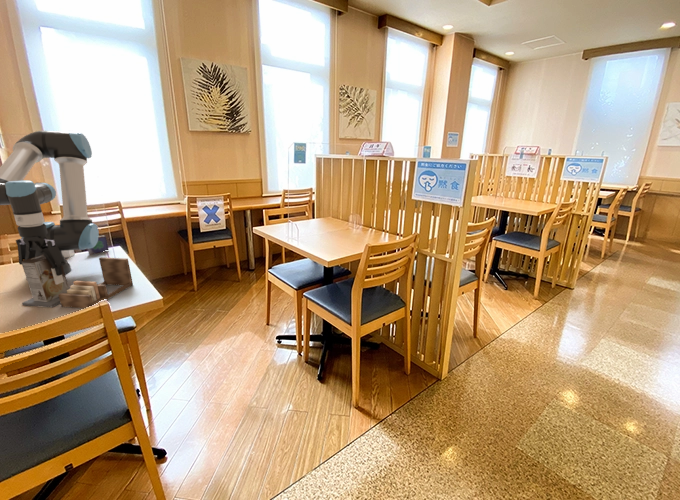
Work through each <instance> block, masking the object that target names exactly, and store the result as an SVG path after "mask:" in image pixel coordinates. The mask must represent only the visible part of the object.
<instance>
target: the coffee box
mask: <svg viewBox="0 0 680 500" xmlns="http://www.w3.org/2000/svg"><path fill="white" fill-rule="evenodd" d="M21 263H22V265H21V266H22V269H23V272H24V276H25V278H26V281H27V284H28V287H29V289H30V293H31V295H32V298H33V299H34V301H41V302H49V301H51V300H53V299H56V298H58V297H59V296H58V294H60V293H67V290H68V289H70V286H69V283H68V279H67V277H66V274H65V273H64V269H63V266H61V269H62V273H63V274H62V276H63V280H64V282H62V283H60V284H58V285H56V284H55V281H54V277H53V274H52V270H51V268H52V265H51V264H50V263H49V261H48V260H47V259H46V257H45V256H44V255H40V256H36V257H33V258H30V259H27V260H23V261H21ZM60 263H61V262H60ZM55 264H56V263H55Z"/></svg>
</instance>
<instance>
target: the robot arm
mask: <svg viewBox="0 0 680 500" xmlns="http://www.w3.org/2000/svg"><path fill="white" fill-rule="evenodd" d="M92 154H93V153H92V147H91V144H90V143H89V141H88V138H87V137H86V136H85V135H84V134H83V133H82V132H79V131H73V130H38V131H37V130H36V131H33V132H31V133H29V134H26V135H24V136H23V137H21V138H19V139H18V140H17V141H16V142H15V143H14V144H13V146H12V152H11V154H9V156H8V157H7V158H6V159H5V161H4V162H3V163H2V165H1V166H0V206H7V205H8V206H9V205H10V208H11V210H12V215H13V217H14V221H15V224H16V226H17V232H18V235H19V237H20V238H18V239H15V243H16V246H17V254H18V264H19V265H20V266H22V263H21V261H23V260H27V259H30V258H33V257H36V256H40V255H44V256H45V257H46V259H47V260H48V261H49V263H50V264H51V265H52V268H51V270H52V274H53V277H54V281H55V284H56V285H58V284H60V283H62V282H64V280H63V276H62V274H63V273H62V269H61V266H63V269H64V273H65V275H66V274H68V273H70V272H71V270H72V268H71V267H72V266H71V264H70V263H69V262H68V260H67V258H64V256H63V255H62V251H66V250H74V251H79V250H82V251H83V250H88V249H90V248H93V247H94V246H95V245H96V244H97V242H98V237H99V234H100V233H99V228H98V225H97V224H96V223H93V220H92V219H91V218H90V217H89V216H88V203H87V191H86V184H85V183H86V181H85V172H84V171H85V169H84V166H85V165H87V164H88V159H90V158H91V157H92V156H93V155H92ZM47 158H50V159H51V158H52V159H54V162H56V163H57V164H58V166H59V177H60V180H59V181H60V191H61V199H62V200H61V201H62V211H63V213H62V214H63V217H61V218H60V219H59V225H56V223H55V222H54V221H45V218H44V214H43V210H42V206H41V205H44V204H47V203H50V202H51V201H53V200H54V199H55V198H56V196H57V192H56V189H55V188H54V186H53V185H51V184H50V183H47V182H35V183H34V181H32V180H25V178H26V177H27V175H28V174H29V172H30V171H31V170H32V168H33V167H34V165H35V164H36V163H38V162H41V161H42V159H47ZM60 262H61V263H60ZM55 263H56V264H55Z"/></svg>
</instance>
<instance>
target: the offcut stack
mask: <svg viewBox="0 0 680 500" xmlns="http://www.w3.org/2000/svg"><path fill="white" fill-rule="evenodd" d="M72 283H73V284H71V285H70V286H69V289H68V290H67V293H68V294H83V295H91V296H92V300H93V302H94V301H96V300H98V299H100V295H99V291H98V287H97V284H98V283H97V281H88V280H75V281H73V282H72Z"/></svg>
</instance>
